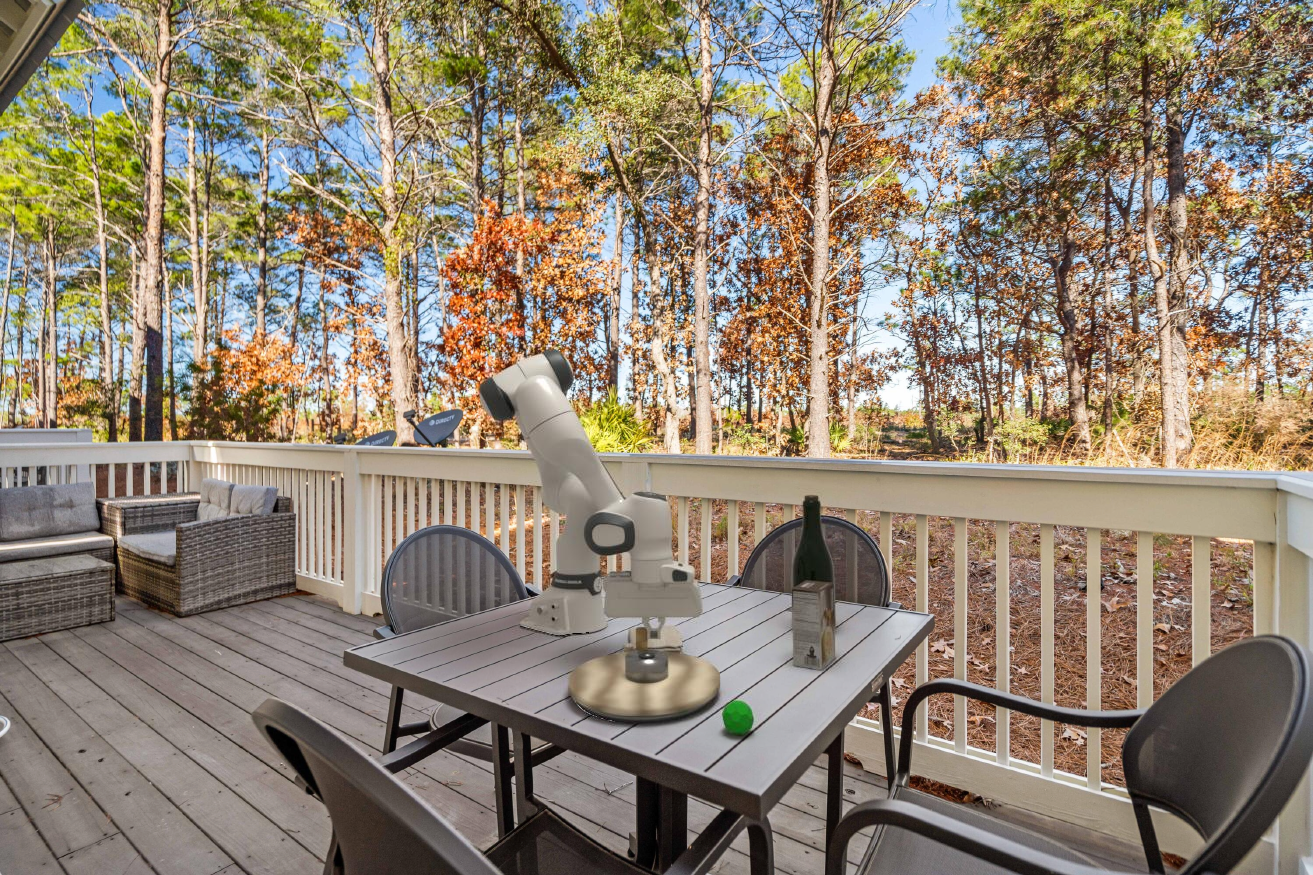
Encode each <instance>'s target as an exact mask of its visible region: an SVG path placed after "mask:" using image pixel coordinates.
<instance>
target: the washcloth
mask: <svg viewBox="0 0 1313 875" xmlns="http://www.w3.org/2000/svg"><path fill="white" fill-rule="evenodd" d="M636 628H637V627H631V628H629V629H628V638H629V643H631V644H632V646H633V651H636ZM651 628H658V626H651ZM647 635H648V631H647ZM682 639H683V636H682V635H681V634H680V631H679V629H678V627H677V625H671V624H670V625H663V627H662V629H661V638H660V639H648V649H651V650H659V651H668V652H676V653H682V654H683V650H682V647H684V644H683V640H682Z"/></svg>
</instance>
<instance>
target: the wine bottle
mask: <svg viewBox="0 0 1313 875" xmlns="http://www.w3.org/2000/svg"><path fill="white" fill-rule="evenodd" d="M803 498H804V499H803V501H802V504H801V505H802V529H801V534H800V537H799V538H800V539H799V541H798V544H797V547H796V549H795V553H794V556H793V558H792V567H791V589H792V588H794V587H796V586H797V585H799V584H801V583H802V582H804V581H806V580H807V581H818V582H829V583H834V617H835V631H836V629H837V618H836V617H837V614H836V612H837V610H836V607H837V606H836V587H835V584H836V583H835V569H834V562H833V557H832V555H831V553H830V550H829V548H828V545H827V542H826V539H825V536H824V533H823V528H822V515H821V511H822V510H821V507H822V503H821V500H819V499H820V498H819V495H815V494H808V495H804V497H803ZM791 627H792V628H793V624H792V623H791Z"/></svg>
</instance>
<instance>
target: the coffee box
mask: <svg viewBox="0 0 1313 875" xmlns="http://www.w3.org/2000/svg"><path fill="white" fill-rule="evenodd" d="M792 624H793V627H792V652H793V653H792V659H793V666H795V667H798V668H799V667H800V668H805V669H810V668H812V669H811V670H815V669H817V670H816V671H821V670H823V669H824V668H825V669H826V668H827V667H828V666H829V665H830V663H832V661H834V659H836V630H835V617H834V583H829V582H818V581H807V580H806V581H804V582H802V583H801V584H799V585H797V586H796V587H794V588H792V587H791V625H792ZM827 665H828V666H827ZM825 669H824V670H825ZM824 670H823V671H824Z"/></svg>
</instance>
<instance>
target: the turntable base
mask: <svg viewBox="0 0 1313 875" xmlns="http://www.w3.org/2000/svg"><path fill="white" fill-rule="evenodd" d="M630 651H633V646H632V644H631V643H630V642H629V643H628V642H627V643H623V652H630ZM715 696H716V695H715ZM715 696H714V697H713V698H712V699H711V700H709V701H708V702H706V703H704V704H702V705H700V706H698V707H695V708H692V709H689V710H685V711H682V712H677V713H672V714H665V715H656V716H623V715H614V714H608V713H603V712H599V711H595V710H593V709H590V708H587V707H585V706H583V705H581V704H579V703H578V702H576V703H577V704H578V705H579V706H580V707H581V708H582V709H583V710H585V711H586V712H588V713H590V714H592V715H594V716H597V717H599V718H598V719H600V718H603V719H605V720H604V721H607V720H612V721H615V722H614V723H618V722H621V723H620V724H627V725H629V724H631V725H632V724H633V725H649V724H660V723H661V724H662V723H668V722H673V721H678V720H682V719H686V718H688V717H692V716H694V715H697V714H698V713H700V712H702V711H704V710H705V709H707V708H708V707H709V706H710V705H711V704H712V703H713V701H714V699H715ZM576 703H575V704H576ZM594 716H593V717H594ZM597 717H596V718H597ZM603 719H602V720H603ZM612 721H611V722H612Z"/></svg>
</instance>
